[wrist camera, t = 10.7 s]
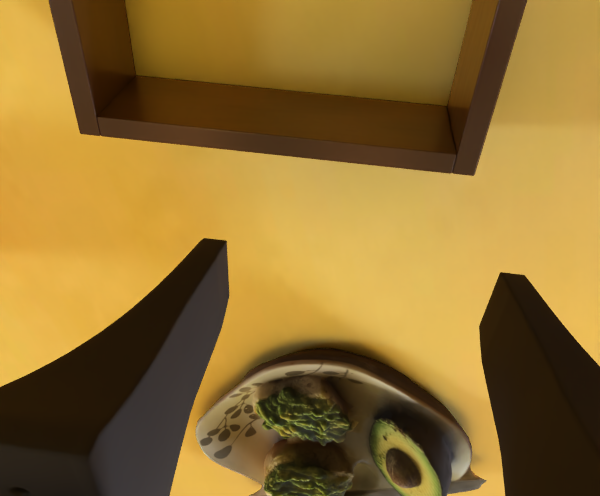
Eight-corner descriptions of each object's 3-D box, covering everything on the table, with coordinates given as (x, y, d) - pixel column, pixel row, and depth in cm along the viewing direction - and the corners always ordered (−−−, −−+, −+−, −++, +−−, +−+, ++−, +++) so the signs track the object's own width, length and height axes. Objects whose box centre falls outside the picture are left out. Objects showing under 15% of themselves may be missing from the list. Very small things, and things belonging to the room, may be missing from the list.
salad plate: (326, 522, 46) (321, 580, 43) (152, 432, 41) (130, 491, 37) (516, 447, 36) (530, 517, 32) (318, 310, 30) (309, 377, 26)
